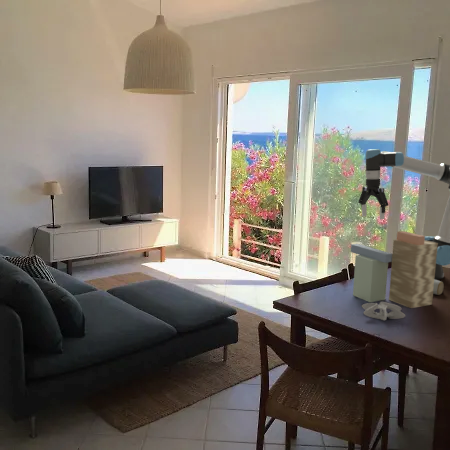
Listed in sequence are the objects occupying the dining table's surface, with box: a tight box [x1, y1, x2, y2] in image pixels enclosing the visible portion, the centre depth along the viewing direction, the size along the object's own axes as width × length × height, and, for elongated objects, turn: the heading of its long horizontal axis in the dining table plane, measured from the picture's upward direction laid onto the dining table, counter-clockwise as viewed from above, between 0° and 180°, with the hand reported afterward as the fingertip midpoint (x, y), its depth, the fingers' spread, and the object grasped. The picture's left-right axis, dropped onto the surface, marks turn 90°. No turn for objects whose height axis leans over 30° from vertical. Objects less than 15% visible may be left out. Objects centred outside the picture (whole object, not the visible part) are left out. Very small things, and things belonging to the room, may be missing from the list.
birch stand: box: [388, 239, 438, 309], centre depth 253 cm, size 14×14×30 cm
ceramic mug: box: [433, 279, 445, 296], centre depth 271 cm, size 11×8×8 cm
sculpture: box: [361, 301, 406, 321], centre depth 233 cm, size 18×20×6 cm
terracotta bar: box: [396, 230, 426, 245], centre depth 248 cm, size 13×4×4 cm, turn 28°
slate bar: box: [350, 243, 393, 263], centre depth 258 cm, size 24×4×4 cm, turn 28°
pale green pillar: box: [352, 254, 389, 303], centre depth 259 cm, size 12×10×20 cm
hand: (373, 217), depth 285 cm, fingers open, 13 cm apart
